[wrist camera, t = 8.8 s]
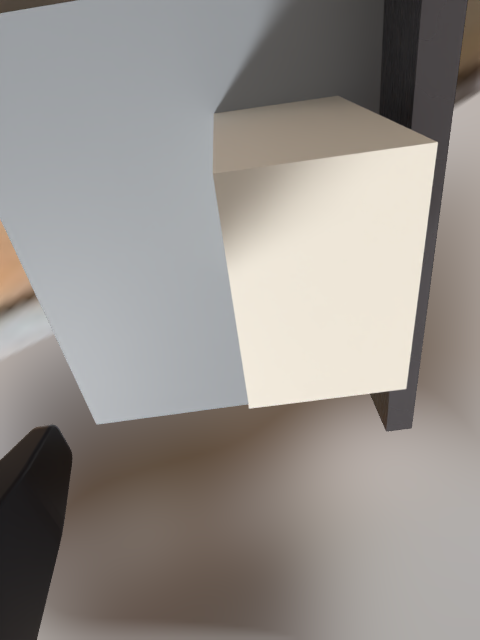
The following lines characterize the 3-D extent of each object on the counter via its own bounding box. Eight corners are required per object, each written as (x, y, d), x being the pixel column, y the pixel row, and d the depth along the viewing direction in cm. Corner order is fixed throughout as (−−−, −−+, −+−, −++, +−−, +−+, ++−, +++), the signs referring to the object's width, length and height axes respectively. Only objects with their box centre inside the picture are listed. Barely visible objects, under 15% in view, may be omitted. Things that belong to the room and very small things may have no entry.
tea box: (213, 113, 15) (212, 173, 8) (346, 94, 15) (453, 139, 8) (237, 275, 19) (249, 408, 12) (344, 261, 18) (417, 387, 12)
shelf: (106, 392, 25) (82, 470, 21) (-48, 29, 15) (-160, 26, 11) (378, 355, 25) (416, 427, 20) (402, -46, 15) (486, -84, 10)
